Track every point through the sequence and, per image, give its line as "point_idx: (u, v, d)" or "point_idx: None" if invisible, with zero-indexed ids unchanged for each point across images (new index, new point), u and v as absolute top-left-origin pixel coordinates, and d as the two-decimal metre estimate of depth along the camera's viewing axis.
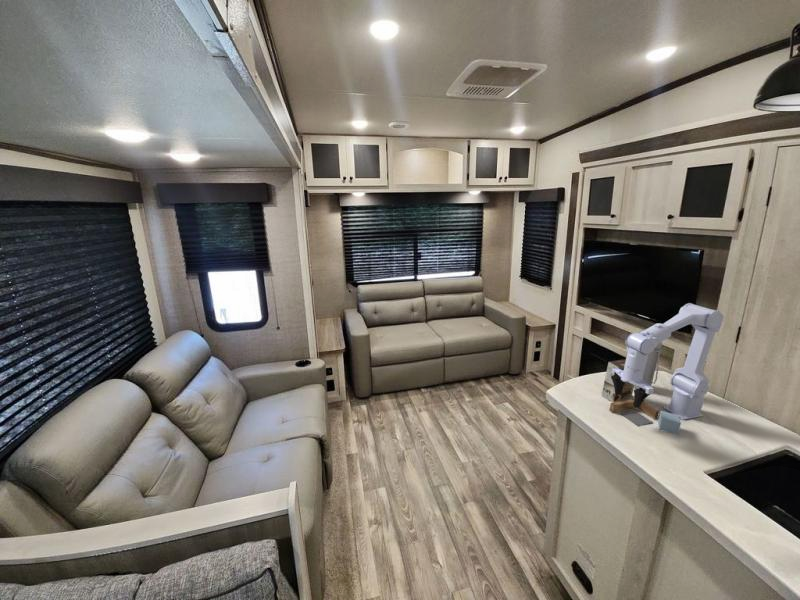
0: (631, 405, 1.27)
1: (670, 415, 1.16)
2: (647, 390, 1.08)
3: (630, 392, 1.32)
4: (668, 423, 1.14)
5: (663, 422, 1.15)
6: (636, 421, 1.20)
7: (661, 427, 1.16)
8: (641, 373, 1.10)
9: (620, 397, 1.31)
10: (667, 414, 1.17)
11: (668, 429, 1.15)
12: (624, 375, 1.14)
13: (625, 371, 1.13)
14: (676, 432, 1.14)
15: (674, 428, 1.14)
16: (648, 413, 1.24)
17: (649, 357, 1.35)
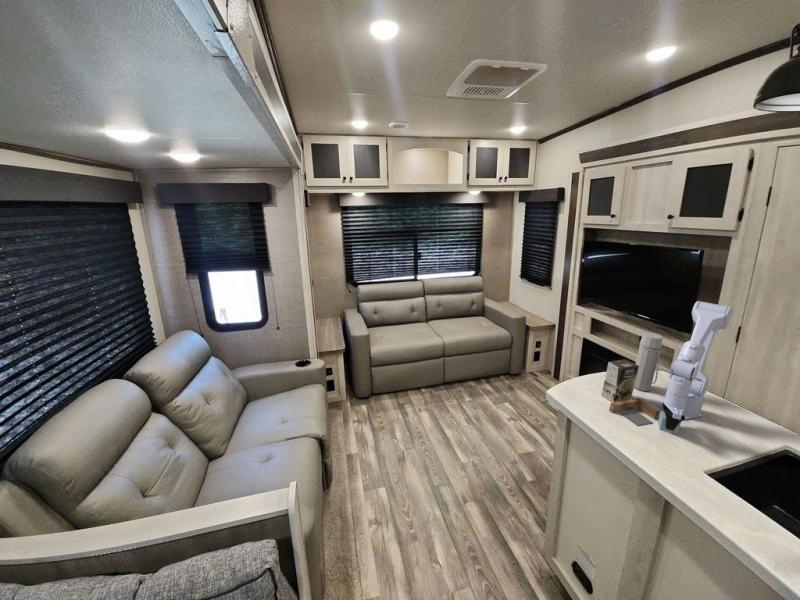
0: (631, 405, 1.27)
1: None
2: (673, 414, 1.09)
3: (630, 392, 1.32)
4: None
5: (663, 422, 1.15)
6: (636, 421, 1.20)
7: (661, 427, 1.16)
8: (678, 399, 1.11)
9: (620, 397, 1.31)
10: None
11: None
12: (665, 397, 1.16)
13: (666, 393, 1.15)
14: (676, 432, 1.14)
15: None
16: (648, 413, 1.24)
17: (649, 357, 1.35)
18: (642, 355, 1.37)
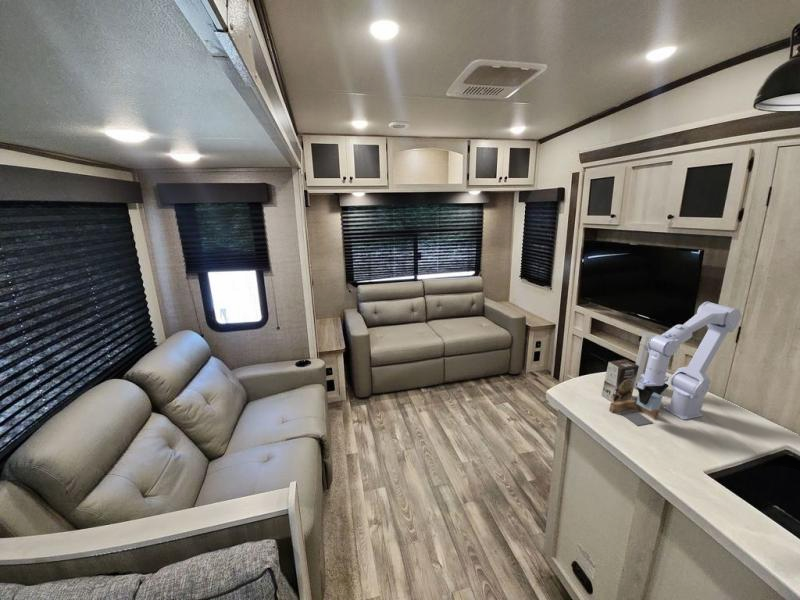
0: (631, 405, 1.27)
1: None
2: None
3: (630, 392, 1.32)
4: None
5: None
6: (636, 421, 1.20)
7: (637, 401, 1.20)
8: (650, 372, 1.14)
9: (620, 397, 1.31)
10: None
11: (643, 404, 1.18)
12: None
13: None
14: (649, 408, 1.16)
15: (648, 404, 1.16)
16: (648, 413, 1.24)
17: None
18: (642, 355, 1.37)
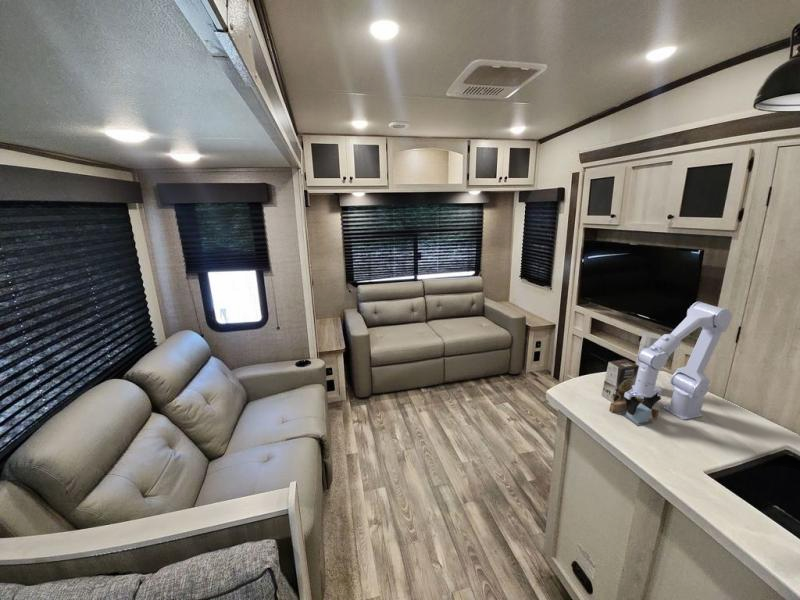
0: None
1: (642, 406, 1.21)
2: None
3: None
4: None
5: None
6: None
7: (627, 412, 1.23)
8: (639, 384, 1.17)
9: (620, 397, 1.31)
10: (640, 405, 1.22)
11: (631, 416, 1.21)
12: None
13: None
14: (637, 420, 1.19)
15: (636, 416, 1.20)
16: None
17: None
18: None
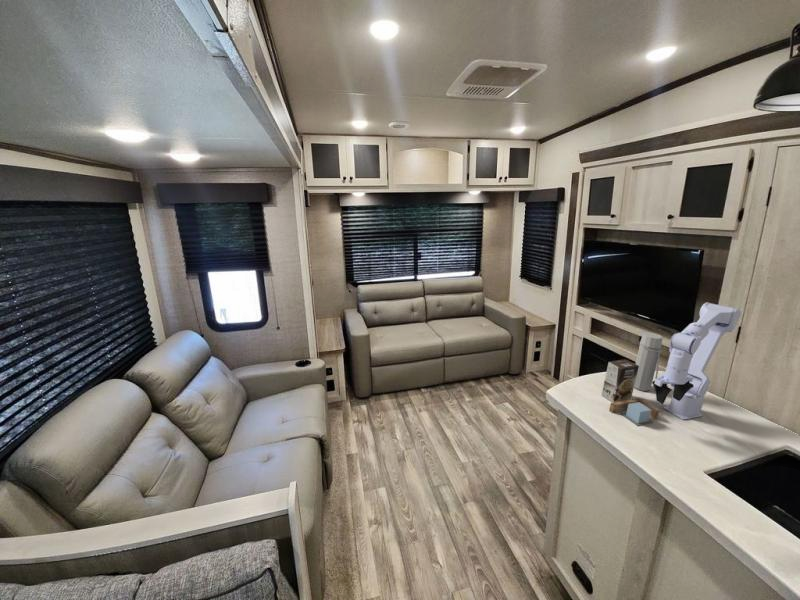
0: None
1: (642, 406, 1.21)
2: None
3: (630, 392, 1.32)
4: (632, 410, 1.21)
5: (629, 408, 1.22)
6: None
7: (627, 412, 1.23)
8: (670, 370, 1.12)
9: (620, 397, 1.31)
10: (640, 405, 1.22)
11: (631, 416, 1.21)
12: None
13: None
14: (637, 420, 1.19)
15: (636, 416, 1.20)
16: None
17: (649, 357, 1.35)
18: (641, 355, 1.37)
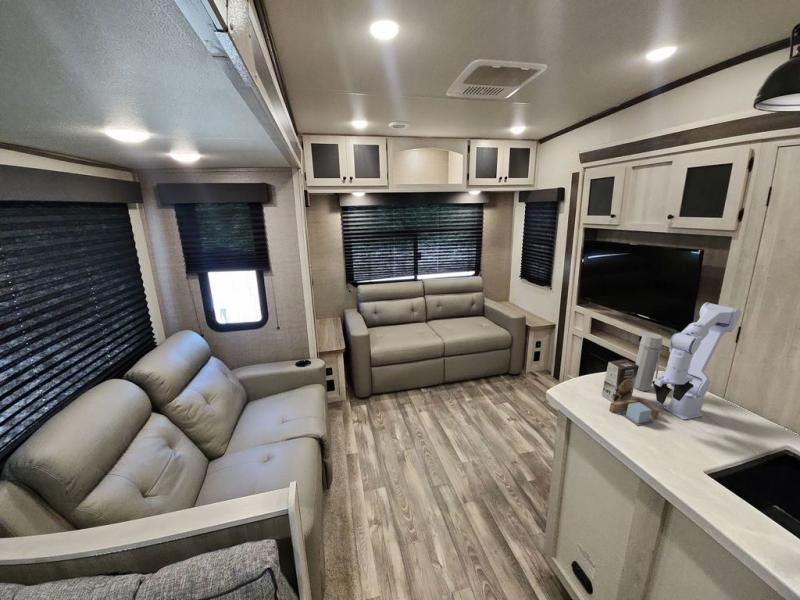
0: None
1: (642, 406, 1.21)
2: None
3: (630, 392, 1.32)
4: (632, 410, 1.21)
5: (629, 408, 1.22)
6: None
7: (627, 412, 1.23)
8: (670, 370, 1.12)
9: (620, 397, 1.31)
10: (640, 405, 1.22)
11: (631, 416, 1.21)
12: None
13: None
14: (637, 420, 1.19)
15: (636, 416, 1.20)
16: None
17: (649, 357, 1.35)
18: (642, 355, 1.37)
